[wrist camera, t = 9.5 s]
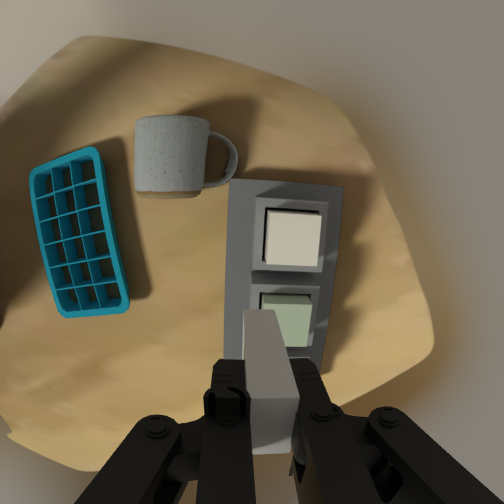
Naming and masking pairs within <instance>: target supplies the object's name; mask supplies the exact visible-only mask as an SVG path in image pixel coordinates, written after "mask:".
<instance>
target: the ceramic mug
mask: <svg viewBox="0 0 504 504" xmlns="http://www.w3.org/2000/svg"><path fill="white" fill-rule="evenodd" d="M209 127H210V123H209V121H207V120H205V119H202V118H199V117H193V116H184V115H156V116H146V117H142V118H140V119H138V120H137V121H136V124H135V168H134V181H135V188H136V192H137V194H138V195H139V196H140V197H143V198H157V199H175V198H193V197H196V196H198V195H199V194H200V193H201V190H202V188H203V187H215V186H219V185H222V184H224V183H226V182H227V181H228V180H229V179H230V178H231V177H232V176H233V175H234V173H235V171H236V168H237V164H238V152H237V149H236V147H235V145H234V144H233V143H232V142H231V141H230V140H229V139H228V138H227V137H225V136H223V135H221V134H219V133H216V132H212V131H210V130H209ZM208 136H211V137H214V138H217V139H219V140H220V141H222V142H223V143H225V144H226V145H227V147H228V149H229V153H230V154H229V160H228V166H227V168H226V170H225V173H226V175H225V176H224V177H223V178H221V179H220V180H219V181H215V182H212V183H204V175H205V160H206V152H207V144H208Z"/></svg>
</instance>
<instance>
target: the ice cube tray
mask: <svg viewBox="0 0 504 504" xmlns="http://www.w3.org/2000/svg"><path fill="white" fill-rule="evenodd" d="M91 160H93V162H94V168H95V175H96V178H95V179H92V180H89V181H86V182H83V175H82V168H81V164H82V163H85V162H88V161H91ZM68 168H70V171H71V179H72V186H70V187H67V188H65V185H64V178H63V170H65V169H68ZM49 175H51V176H52V184H53V192H52V193H49V194H47V191H46V179H47V177H48V176H49ZM94 183H97V189H98V195H99V201H100V204H98V205H95V206H91V207H87V202H86V196H85V190H84V186H87V185H90V184H94ZM29 187H30V195H31V202H32V208H33V214H34V220H35V225H36V231H37V236H38V240H39V245H40V249H41V254H42V258H43V262H44V266H45V270H46V273H47V277H48V281H49V284H50V288H51V291H52V294H53V297H54V301H55V304H56V307H57V310H58V312H59V313H60V314H61V315H62V316H63V317H65V318H75V317H87V316H99V315H109V314H120V313H124V312H125V311H127V310H128V309H129V305H130V300H129V297H128V295H129V287H128V283H127V279H126V275H125V272H124V267H123V263H122V259H121V255H120V251H119V246H118V242H117V237H116V232H115V227H114V222H113V217H112V211H111V206H110V200H109V194H108V188H107V181H106V174H105V167H104V163H103V161H102V159H101V157H100V153H99V152H98V150H97V148H94V147H90V146H89V147H86V148H84V149H81V150H78V151H75V152H73V153H70V154H67V155H65V156H62V157H60V158H57V159H54V160H52V161H50V162H47V163H45V164H42V165H40V166H38V167H35V168H33V170H32V171H31V173H30V176H29ZM71 190H73V193H74V199H75V205H76V211H73V212H69V211H68V205H67V199H66V192H68V191H71ZM53 196H54V199H55V205H56V211H57V216H56V217H52V218H51V216H50V210H49V204H48V198H50V197H53ZM96 207H101V213H102V218H103V223H104V228H105V229H102V230H98V231H93V232H92V229H91V224H90V219H89V213H88V210H89V209H92V208H96ZM74 213H77V217H78V222H79V227H80V232H81V234H80V235H76V236H73V232H72V227H71V222H70V216H69V215H70V214H74ZM57 218H58V222H59V227H60V232H61V237H62V239H60V240H56V241H55V237H54V232H53V227H52V221H51V220H53V219H57ZM101 232H105V233H106V238H107V242H108V247H109V251H110V253H105V254H99V255H97V252H96V248H95V243H94V239H93V234H96V233H101ZM79 237H82V241H83V246H84V250H85V255H86V257H84V258H79V259H78V254H77V250H76V246H75V241H74V238H79ZM58 242H63V246H64V250H65V255H66V259H67V261H63V262H60V259H59V254H58V250H57V246H56V243H58ZM109 257H111V260H112V264H113V268H114V272H115V276H110V277H103V276H102V272H101V268H100V264H99V260H98V259H103V258H109ZM81 262H87V263H88V267H89V271H90V274H91V278H92V279H90V280H84V278H83V274H82V270H81V266H80V263H81ZM65 265H68V267H69V271H70V274H71V278H72V282H71V283H66V281H65V278H64V274H63V270H62V266H65ZM113 282H117V283H118V287H119V291H120V294H121V298H114V299H109V298H108V294H107V291H106V287H105V284H106V283H113ZM93 285H94V289H95V292H96V296H97V299H98V300H97V301H90V299H89V295H88V292H87V289H86V286H93ZM71 288H74V289H75V292H76V295H77V299H78V302H79V303H75V302H74V301H72V299H71V297H70V295H69V292H68V289H71Z"/></svg>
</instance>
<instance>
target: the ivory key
mask: <svg viewBox="0 0 504 504" xmlns="http://www.w3.org/2000/svg"><path fill="white" fill-rule="evenodd" d="M321 218H322V216H321V215H318V214H316V213H313V212H311V211H297V210H282V209H266V222H265V238H264V256H265V260H266V264H274V265H296V266H317V261H318V251H319V241H320V230H321Z"/></svg>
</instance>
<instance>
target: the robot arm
mask: <svg viewBox="0 0 504 504" xmlns="http://www.w3.org/2000/svg"><path fill="white" fill-rule="evenodd" d="M203 400H204V413H205V415H204V416H202V417H201V418H200V419H197V420H195V421H192V422H188V423H181V424H178V423H177V422H176V421H175V420H174V419H172V418H170V417H168V416H165V415H149V416H147V417H144V418H142V419H141V420H140V421H138V422H137V423H136V425H135V426H134V427H133V428H132V430H131V431H130V432H129V434H128V435H127V436H126V438H125V439H124V440H123V441H122V443H121V444H120V445H119V447H118V448H117V449H116V451H115V452H114V453H113V454H112V456H111V457H110V458H109V460H108V461H107V462H106V463H105V465H104V466H103V467H102V469H101V470H100V471H99V472H98V474H97V475H96V476H95V478H94V479H93V480H92V482H91V483H90V484H89V485H88V486H87V488H86V489H85V490H84V492H83V493H82V494H81V495H80V497H79V498H78V499H77V500H76V502H75V503H74V504H178V503H179V500H180V499H181V496H182V494H183V492H184V490H185V488H186V486H187V484H188V481H193V480H198V485H197V495H196V504H256V496H255V483H254V470H253V454H275V453H289V452H290V448H291V446H292V450H293V457H292V462H291V466H290V470H289V476H292V474H294V480H295V485H296V491H297V495H298V501H299V504H504V502H502V501H501V500H500V499H499V498H498V497H497V496H495V494H493V493H492V492H491V491H490V490H489V489H488V488H487V487H485V486H484V485H483V484H482V483H481V482H480V481H479V480H478V479H476V478H475V477H474V476H473V475H472V474H471V473H470V472H469V471H467V470H466V469H465V468H464V467H463V466H462V465H461V464H460V463H459V462H457V461H456V460H455V459H454V458H453V457H452V456H451V455H450V454H449V453H447V452H446V451H445V450H444V449H443V448H442V447H441V446H440V445H438V444H437V443H436V442H435V441H434V440H433V439H432V438H431V437H430V436H429V435H428V434H426V433H425V432H424V431H423V430H422V429H421V428H420V427H419V426H418V425H417V424H416V423H414V422H413V421H412V420H411V419H410V418H409V417H408V416H407V415H406V414H405V413H403V412H402V411H400V410H399V409H397V408H393V407H379V408H376V409H374V410H373V411H372V412H371V413H370V415H369V417H359V416H351V415H346V414H344V412H343V411H342V410H341V408H340V407H339V406H337V405H336V404H334V403H331V401H330V398H329V396H328V393H327V391H326V388H325V386H324V384H323V381H322V380H321V376H320V374H319V372H318V369H317V367H316V364H314V363H313V362H312V361H311V360H310V359H309V358H288V354H287V351H286V347H285V344H284V340H283V337H282V333H281V330H280V326H279V323H278V319H277V316H276V313H275V309H243V344H242V360H237V359H219V360H218V361H217V362H216V363H215V365H214V366H213V372H212V380H211V388H210V389H208V390H207V391H206V392H205V394H204V396H203Z"/></svg>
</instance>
